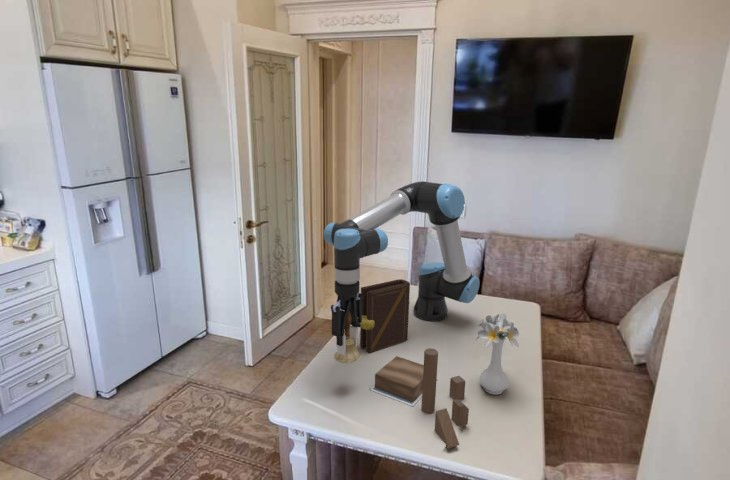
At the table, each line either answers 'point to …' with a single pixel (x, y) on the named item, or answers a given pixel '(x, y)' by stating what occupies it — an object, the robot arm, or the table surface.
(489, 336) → the flower vase
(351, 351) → the hand bell
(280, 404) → the table surface
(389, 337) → the book
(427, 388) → the wooden blocks
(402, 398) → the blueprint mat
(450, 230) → the robot arm
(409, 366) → the walnut plinth
